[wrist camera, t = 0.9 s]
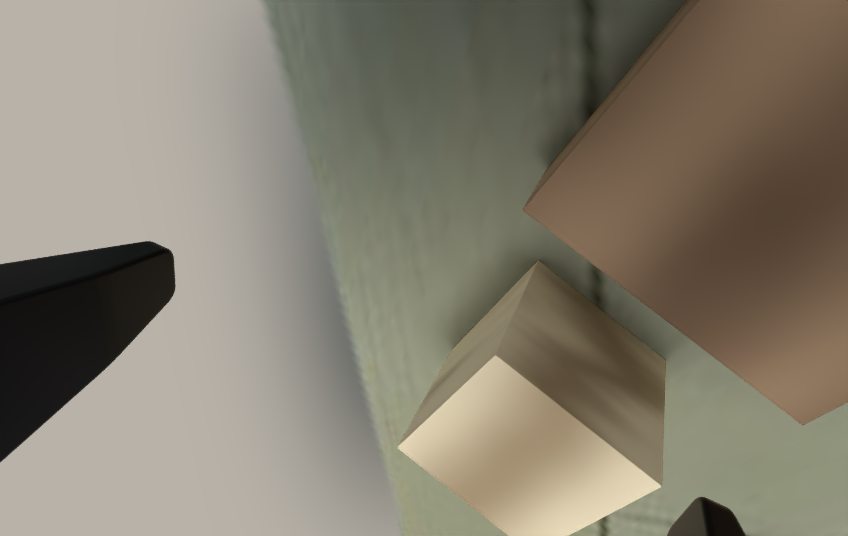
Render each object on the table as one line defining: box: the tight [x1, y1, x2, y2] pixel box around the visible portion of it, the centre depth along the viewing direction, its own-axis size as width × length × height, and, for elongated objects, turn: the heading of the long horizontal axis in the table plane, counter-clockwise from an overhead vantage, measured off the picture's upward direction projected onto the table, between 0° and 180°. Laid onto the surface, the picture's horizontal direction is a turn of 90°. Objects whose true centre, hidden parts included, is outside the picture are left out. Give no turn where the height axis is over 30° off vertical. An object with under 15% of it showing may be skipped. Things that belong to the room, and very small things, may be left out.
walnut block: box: [523, 0, 848, 425], centre depth 14 cm, size 10×10×4 cm
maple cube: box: [397, 261, 666, 536], centre depth 20 cm, size 6×6×6 cm
